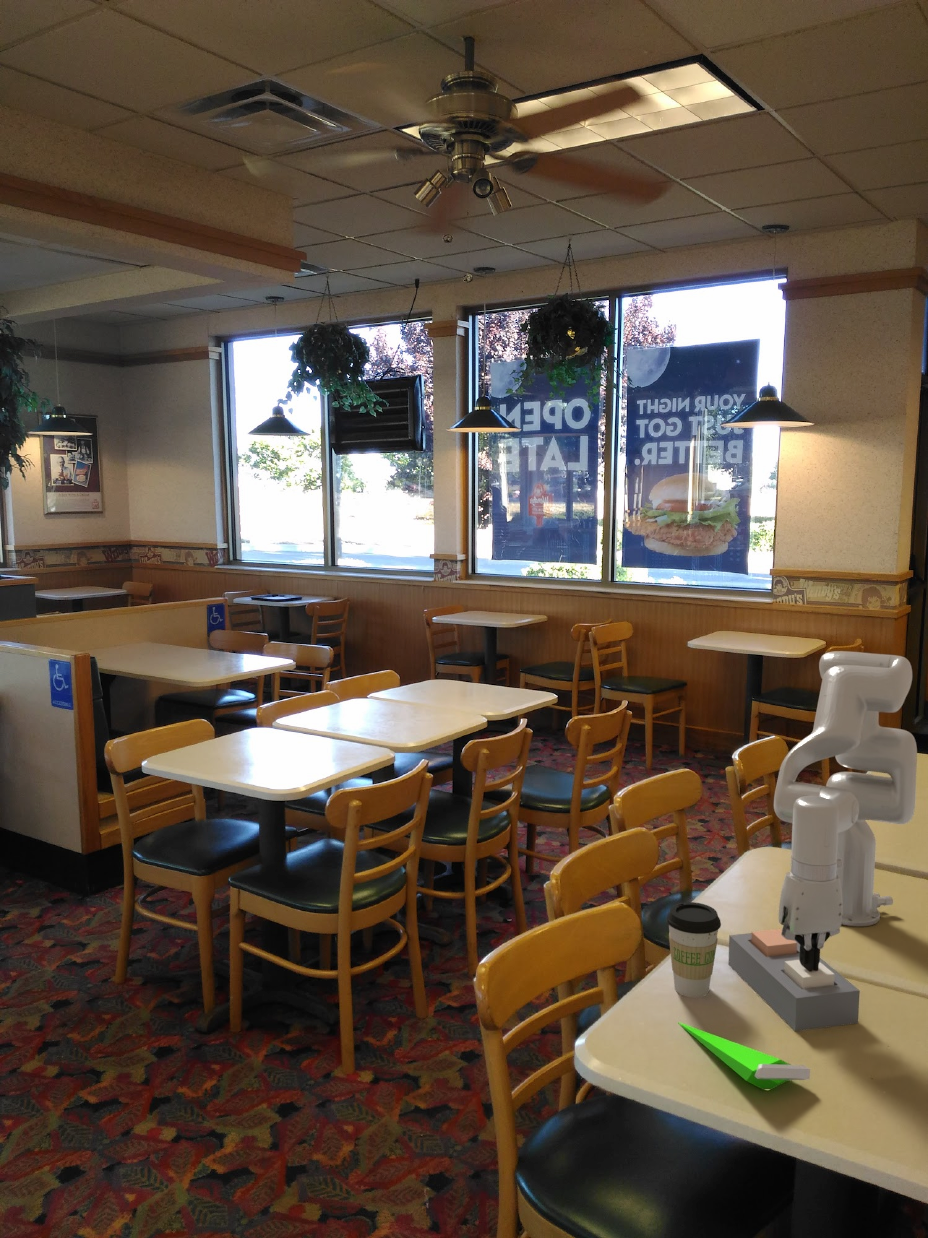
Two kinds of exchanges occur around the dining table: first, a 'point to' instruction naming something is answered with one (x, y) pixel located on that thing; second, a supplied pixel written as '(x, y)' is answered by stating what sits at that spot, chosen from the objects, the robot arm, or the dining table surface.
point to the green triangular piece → (750, 1061)
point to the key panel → (793, 988)
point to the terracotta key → (773, 943)
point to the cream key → (808, 975)
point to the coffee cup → (692, 946)
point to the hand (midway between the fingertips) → (809, 967)
